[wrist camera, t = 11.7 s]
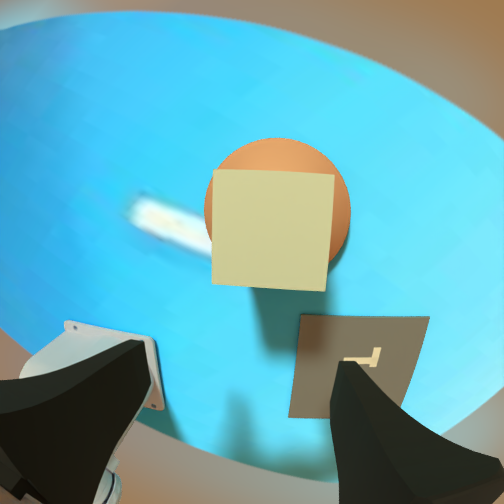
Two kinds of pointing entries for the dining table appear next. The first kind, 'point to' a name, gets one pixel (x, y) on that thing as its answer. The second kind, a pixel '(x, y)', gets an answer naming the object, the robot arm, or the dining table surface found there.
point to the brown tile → (353, 356)
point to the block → (271, 228)
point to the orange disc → (293, 160)
